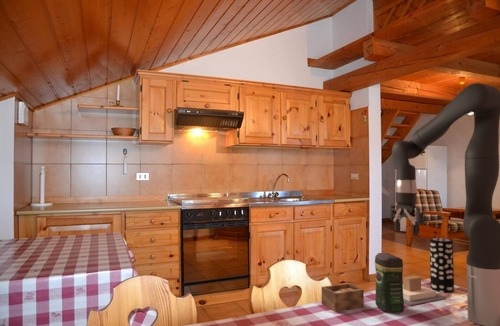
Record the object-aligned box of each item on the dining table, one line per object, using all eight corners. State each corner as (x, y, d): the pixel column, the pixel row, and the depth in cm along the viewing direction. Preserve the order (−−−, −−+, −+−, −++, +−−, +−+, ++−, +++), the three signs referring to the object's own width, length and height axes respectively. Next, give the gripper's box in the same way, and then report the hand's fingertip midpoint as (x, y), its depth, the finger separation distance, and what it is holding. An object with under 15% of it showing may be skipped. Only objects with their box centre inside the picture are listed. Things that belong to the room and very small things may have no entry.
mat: (412, 287, 139) (412, 286, 139) (445, 298, 126) (445, 297, 126) (378, 292, 132) (378, 291, 133) (410, 305, 119) (410, 304, 119)
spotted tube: (454, 294, 131) (452, 242, 132) (429, 290, 135) (428, 240, 136) (454, 288, 138) (453, 239, 139) (431, 285, 142) (430, 237, 143)
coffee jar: (408, 313, 112) (407, 257, 113) (385, 314, 111) (384, 257, 112) (393, 303, 121) (392, 250, 122) (372, 303, 121) (371, 251, 122)
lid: (414, 288, 136) (414, 272, 136) (435, 296, 127) (435, 278, 128) (389, 293, 131) (389, 276, 131) (409, 301, 122) (409, 282, 123)
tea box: (348, 299, 125) (348, 282, 125) (363, 306, 118) (363, 289, 118) (321, 303, 120) (321, 286, 121) (335, 312, 113) (335, 293, 113)
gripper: (384, 190, 138) (385, 230, 137) (414, 192, 125) (414, 236, 124) (398, 190, 141) (398, 229, 140) (428, 192, 128) (429, 235, 127)
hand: (406, 233), depth 132 cm, fingers open, 8 cm apart
